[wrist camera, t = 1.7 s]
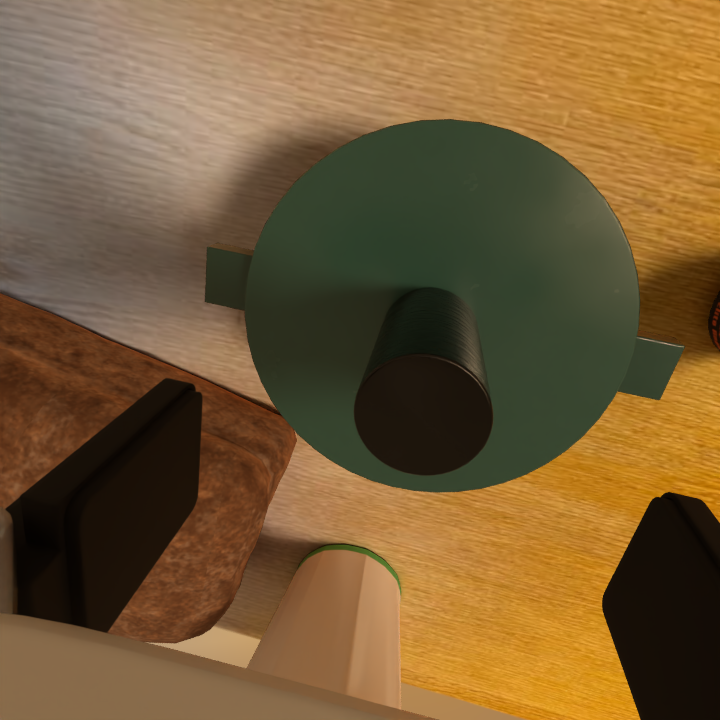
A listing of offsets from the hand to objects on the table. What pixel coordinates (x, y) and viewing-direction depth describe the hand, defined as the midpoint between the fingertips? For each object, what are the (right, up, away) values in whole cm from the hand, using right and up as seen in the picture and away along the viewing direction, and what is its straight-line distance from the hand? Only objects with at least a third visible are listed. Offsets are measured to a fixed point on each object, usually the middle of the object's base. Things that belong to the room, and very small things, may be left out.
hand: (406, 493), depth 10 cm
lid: (+2, +4, +9) cm, 10 cm away
